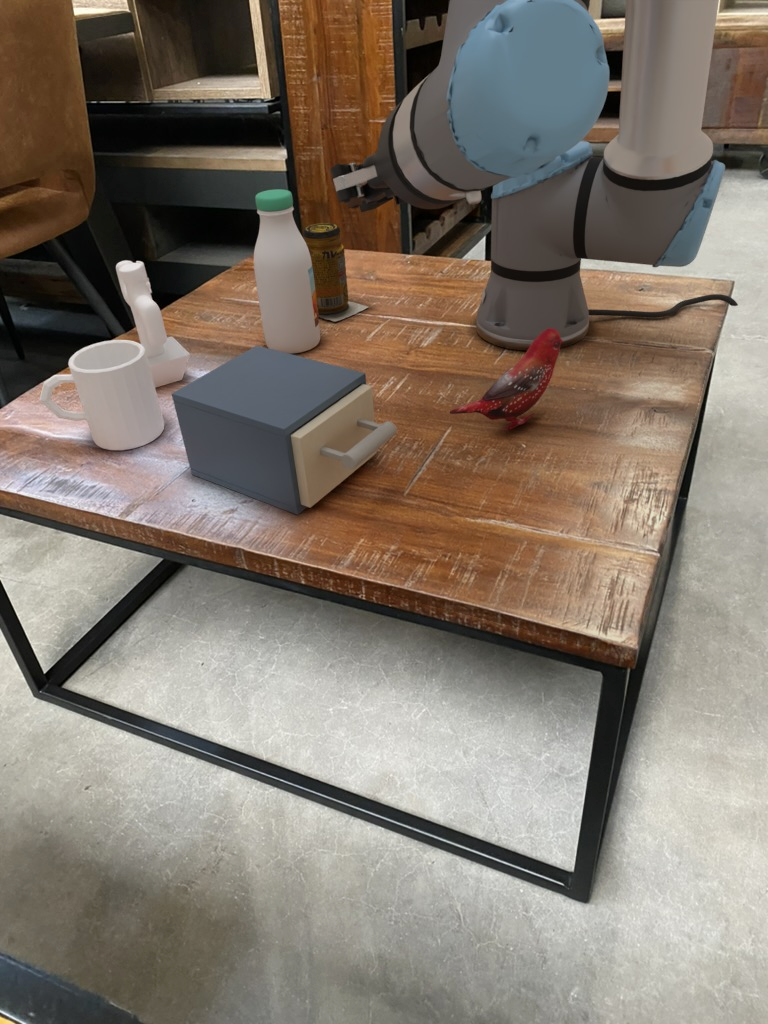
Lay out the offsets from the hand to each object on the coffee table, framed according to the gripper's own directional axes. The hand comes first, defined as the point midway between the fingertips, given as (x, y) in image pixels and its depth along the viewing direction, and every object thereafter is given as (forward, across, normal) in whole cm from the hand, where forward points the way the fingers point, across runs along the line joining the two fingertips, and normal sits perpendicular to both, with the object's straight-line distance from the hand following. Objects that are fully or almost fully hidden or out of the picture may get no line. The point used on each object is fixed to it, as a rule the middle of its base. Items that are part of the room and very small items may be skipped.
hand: (364, 195), depth 73 cm
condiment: (+42, +2, -11) cm, 43 cm away
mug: (+17, -32, -17) cm, 40 cm away
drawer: (+1, -13, -24) cm, 27 cm away
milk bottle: (+33, -7, -14) cm, 36 cm away
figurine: (+29, -25, -13) cm, 41 cm away
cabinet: (+4, -15, -23) cm, 28 cm away
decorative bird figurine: (+2, +9, -27) cm, 29 cm away
